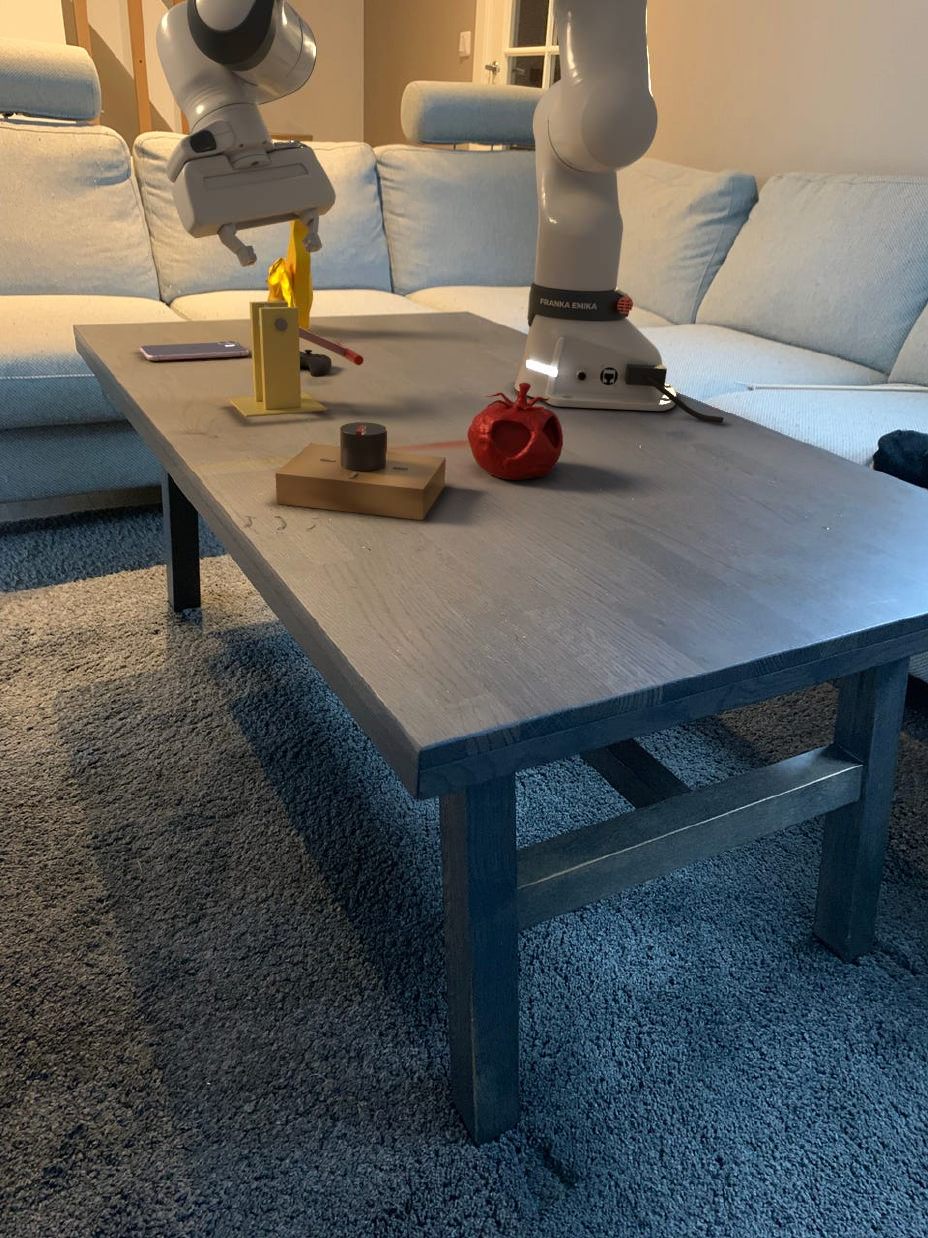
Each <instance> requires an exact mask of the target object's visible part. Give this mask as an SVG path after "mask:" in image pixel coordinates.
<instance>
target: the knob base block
mask: <svg viewBox="0 0 928 1238" xmlns="http://www.w3.org/2000/svg"><path fill="white" fill-rule="evenodd" d="M446 460H447V458H446V457H445V456H438V455H437V456H435V455H426V454H417V453H407V452H397V451H388V450H387V465H386V467H384V468H383V469H380V470H375V471H354V470H350V469H346V468H344V467H342V466H341V462H340V445H330V444H323V443H322V444H321V443H311V442H310V443H309V444H308V445H307V446H305V448H303V449H302V450H301V451H300V452H299V453H297V454H296V455H295V456H294V457H293V458H292V459H290V460H289V461H287V463H285V464H284V465H283V466H282V467H281V468H280V469H278V470H277V471H276V472H275V491H276V492H275V495H276V504H277V505H285V506H294V507H302V508H312V509H320V510H329V511H337V512H338V511H339V512H347V513H354V514H355V513H356V514H365V515H374V516H381V517H382V516H383V517H392V518H401V519H409V520H416V521H417V520H418V521H423V520H424V519H425V517H426V516H427V514H428V512H429V511H430V509H432V506H433V505H434V503H435V502H436V500H437V498H438V497H439V496H440V494H441V492H442V491H443V489H444V488H445V485H446V462H447V461H446Z"/></svg>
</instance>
